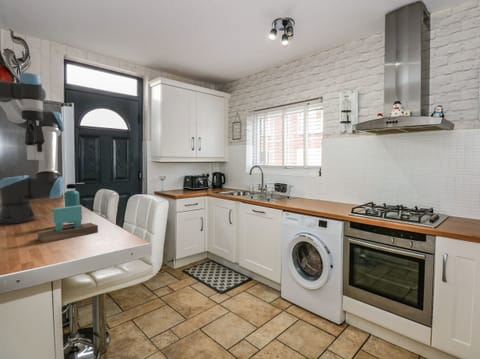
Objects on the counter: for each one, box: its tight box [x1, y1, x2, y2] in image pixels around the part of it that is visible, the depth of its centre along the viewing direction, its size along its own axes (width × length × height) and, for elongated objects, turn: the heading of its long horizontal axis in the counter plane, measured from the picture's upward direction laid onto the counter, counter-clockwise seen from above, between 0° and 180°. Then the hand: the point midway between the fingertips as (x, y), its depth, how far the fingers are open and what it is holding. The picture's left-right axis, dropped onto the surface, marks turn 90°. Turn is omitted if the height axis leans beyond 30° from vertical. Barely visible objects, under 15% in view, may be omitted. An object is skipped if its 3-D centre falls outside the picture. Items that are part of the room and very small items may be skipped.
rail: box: [36, 222, 99, 244], centre depth 114 cm, size 8×20×3 cm, turn 140°
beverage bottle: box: [63, 183, 81, 224], centre depth 132 cm, size 6×7×20 cm
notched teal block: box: [52, 205, 83, 232], centre depth 113 cm, size 3×9×12 cm, turn 140°
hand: (35, 159), depth 119 cm, fingers open, 13 cm apart
